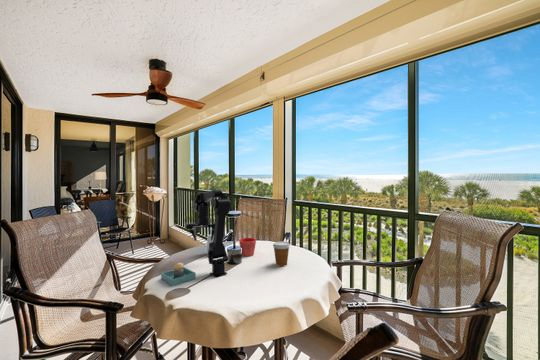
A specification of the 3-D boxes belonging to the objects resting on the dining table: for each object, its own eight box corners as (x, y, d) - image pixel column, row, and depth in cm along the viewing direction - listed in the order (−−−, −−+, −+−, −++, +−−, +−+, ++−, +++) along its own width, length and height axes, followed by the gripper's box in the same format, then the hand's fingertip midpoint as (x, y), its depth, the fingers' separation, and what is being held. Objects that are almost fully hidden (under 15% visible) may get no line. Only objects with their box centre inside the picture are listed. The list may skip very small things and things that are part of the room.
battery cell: (184, 277, 121) (185, 263, 121) (176, 280, 118) (176, 265, 118) (180, 275, 124) (180, 261, 124) (172, 278, 121) (172, 263, 121)
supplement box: (214, 257, 156) (214, 236, 156) (206, 254, 160) (206, 235, 160) (223, 254, 161) (223, 234, 161) (215, 252, 166) (215, 233, 166)
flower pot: (255, 257, 154) (255, 241, 154) (238, 257, 154) (238, 241, 154) (256, 252, 165) (256, 237, 165) (240, 252, 165) (240, 237, 165)
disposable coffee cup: (270, 266, 138) (270, 244, 138) (276, 260, 147) (276, 240, 147) (286, 268, 135) (286, 246, 135) (292, 262, 144) (291, 242, 144)
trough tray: (195, 278, 121) (195, 272, 121) (172, 286, 113) (172, 279, 113) (184, 272, 129) (184, 266, 129) (161, 279, 121) (161, 273, 121)
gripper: (222, 211, 152) (222, 237, 152) (191, 212, 151) (191, 237, 151) (218, 214, 141) (219, 242, 141) (185, 214, 140) (185, 242, 140)
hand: (203, 240), depth 143 cm, fingers open, 9 cm apart
